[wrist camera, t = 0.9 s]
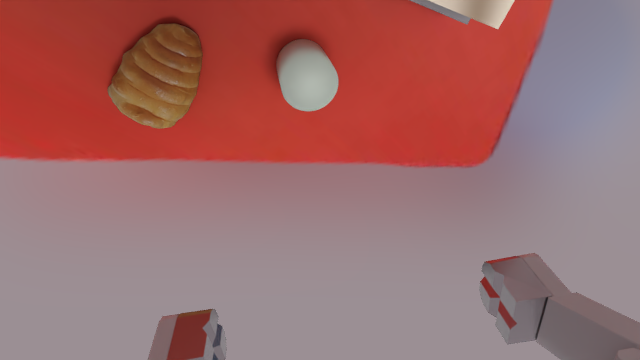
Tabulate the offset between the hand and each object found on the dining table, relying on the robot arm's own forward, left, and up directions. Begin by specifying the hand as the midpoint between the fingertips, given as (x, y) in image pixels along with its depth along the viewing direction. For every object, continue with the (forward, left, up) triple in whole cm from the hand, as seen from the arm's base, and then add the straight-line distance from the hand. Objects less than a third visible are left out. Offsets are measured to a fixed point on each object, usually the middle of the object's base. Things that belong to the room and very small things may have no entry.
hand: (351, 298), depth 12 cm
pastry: (-9, -7, -30) cm, 32 cm away
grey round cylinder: (+3, -2, -29) cm, 30 cm away
